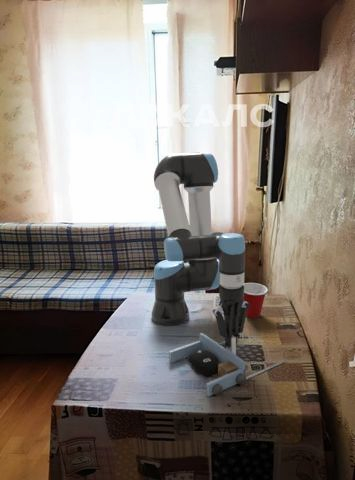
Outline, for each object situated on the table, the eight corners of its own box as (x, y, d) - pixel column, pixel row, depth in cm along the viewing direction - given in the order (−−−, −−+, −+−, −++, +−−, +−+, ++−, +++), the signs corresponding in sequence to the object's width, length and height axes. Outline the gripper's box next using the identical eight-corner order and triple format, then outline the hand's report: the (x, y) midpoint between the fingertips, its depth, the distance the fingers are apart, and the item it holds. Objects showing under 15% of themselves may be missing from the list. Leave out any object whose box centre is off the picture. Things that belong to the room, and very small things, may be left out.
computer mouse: (200, 380, 108) (200, 368, 107) (185, 359, 119) (185, 348, 118) (223, 374, 111) (223, 362, 110) (207, 354, 122) (206, 343, 121)
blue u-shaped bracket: (167, 359, 119) (166, 342, 117) (200, 347, 125) (200, 331, 124) (211, 398, 99) (211, 378, 98) (247, 381, 106) (247, 363, 105)
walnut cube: (218, 376, 109) (218, 364, 109) (228, 372, 112) (228, 360, 111) (226, 383, 106) (226, 371, 105) (237, 378, 108) (237, 366, 107)
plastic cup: (252, 324, 141) (252, 294, 139) (233, 314, 150) (234, 286, 148) (272, 316, 147) (273, 288, 144) (253, 307, 156) (254, 280, 153)
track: (169, 361, 118) (169, 361, 118) (240, 335, 133) (240, 335, 133) (209, 396, 101) (209, 396, 101) (285, 362, 116) (285, 361, 116)
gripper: (222, 293, 105) (222, 367, 111) (256, 283, 112) (254, 354, 117) (206, 285, 112) (207, 355, 117) (240, 277, 118) (239, 344, 124)
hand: (231, 354), depth 117 cm, fingers closed
